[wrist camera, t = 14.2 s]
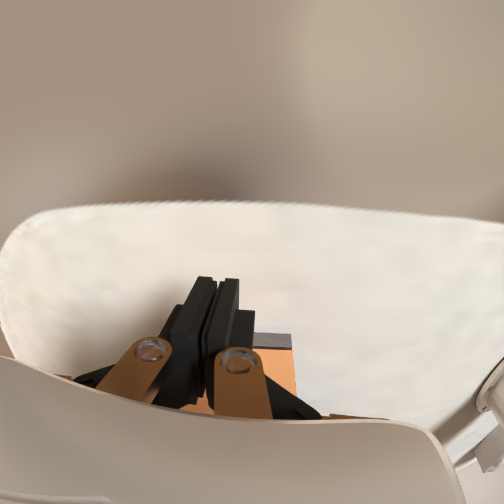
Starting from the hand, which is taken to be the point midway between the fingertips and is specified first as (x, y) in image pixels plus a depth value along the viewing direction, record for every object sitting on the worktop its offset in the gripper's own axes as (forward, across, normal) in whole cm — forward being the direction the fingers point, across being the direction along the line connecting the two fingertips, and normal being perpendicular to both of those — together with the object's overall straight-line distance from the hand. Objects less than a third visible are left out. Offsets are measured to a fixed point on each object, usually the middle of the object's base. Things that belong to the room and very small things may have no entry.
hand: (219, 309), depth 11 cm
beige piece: (+6, -54, +36) cm, 66 cm away
